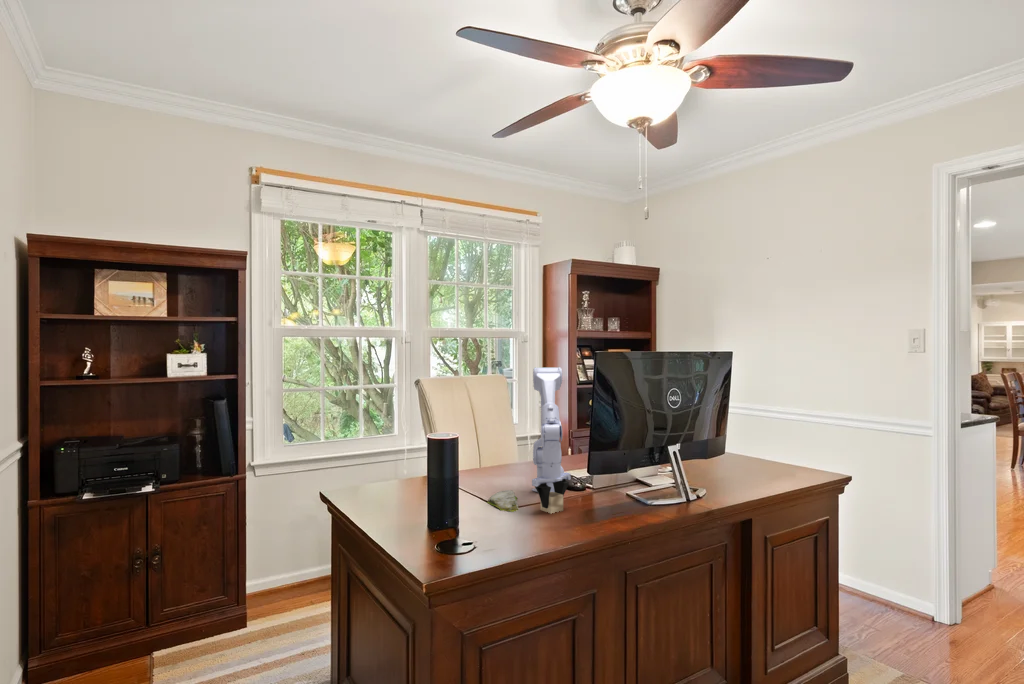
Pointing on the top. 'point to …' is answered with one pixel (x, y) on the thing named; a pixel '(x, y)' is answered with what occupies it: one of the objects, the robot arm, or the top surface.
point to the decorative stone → (504, 501)
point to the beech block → (554, 503)
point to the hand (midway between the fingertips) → (551, 505)
